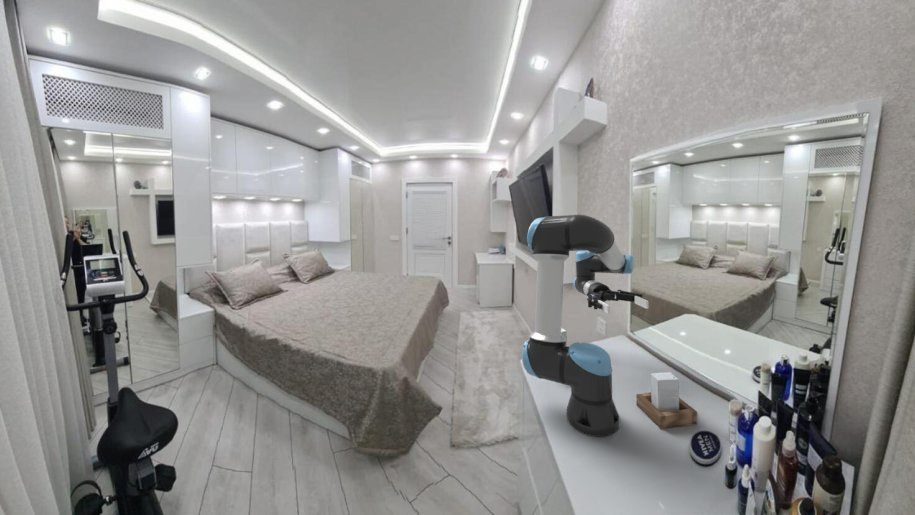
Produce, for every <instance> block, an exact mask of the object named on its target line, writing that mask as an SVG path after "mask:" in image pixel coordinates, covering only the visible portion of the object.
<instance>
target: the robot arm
mask: <svg viewBox="0 0 915 515" xmlns="http://www.w3.org/2000/svg"><path fill="white" fill-rule="evenodd" d="M526 236H527V237H526V241H527V246H528V249H529V250H530V251H532V255H533V257H534V258H535V259H536V260H537V262H536V263H537V267H536V288H535V294H536V295H535V313H534V314H535V316H534V318H535V319H534V331H533V332H532V333H531V334H530V335H529V339H527V340H526V341H524V343H523V348H522V351H521V352H522V353H521V359H522V360H521V361H522V365H523V368H524V370H525V371H526V373H527V374H528V375H530V376H532V377H536V378H537V379H539V380H540V379H542V380H547V381H550V382H555V383H558V384H561V385H566V386H569V387H570V391H571V394H570V397H569V400H568V401H567V406H566V419H567V422H568V423H569V425H570V426H572V428H574V429H575V430H577V431H578V432H580V433H583V434H584V435H588V436H593V437H607V436H611V435H613V434H615V433H616V432H617V431H619V428H620V424H621V422H620V414H619V412H618V410H617V407H616V404H615V401H614V400H613V377H612V376H613V374H612V373H613V367H612V359H611V356H610V354H609V353H608V352H607V351H606V350H605V349H604V348H603V347H601V346H599V345H597V344H594V343H590V342H587V341H586V342H584V341H582V342H578V341H577V342H573V343H572V344H570V345H569V346H568V345H567V346H566V339H565V338H564V337H563V336H562V334H561V328H562V322H563V320H562V319H563V300H564V298H563V297H564V294H563V293H564V271H565V270H564V269H565V261H566V260H567V259H568V258H569V257H570V252H574V251H575V252H576V253H575V261H574V262H575V270H576V271H575V273H576V276H575V278H574V279H573V282H572V285H573V287H574V289H575V290H576V291H577V292H579V293H580V294H582V295H584V296H586V300H587V307H588V308H592V307H593V309H594V310H598V309H599V310H601V311H603V312H605V314H611V306H610V304H608V303H606V302H607V301H608V302H609V301H614V302H618V301H622V302H630V303H631V302H632V303H634V304H635V305H638V307H639V306H640V308H641V307H642V308H643V309H646V310H649V305H650V304H649V300H647V299H644V298H643V294H642V293H637V292H632V291H626V290H622V289H617V290H616V291H615V290H611V289H610V287H609V286H608V285H606V284H603V283H602V282H600V281H597V280H596V277H595V276H596V273H599V274H600V273H602V274H620V275H624V274H625V275H626V274H627V275H628V274H629V275H630V274H632V273H633V272H634V268H635V267H634V266H635V260H634V257H633V256H632V255H630V254H629V255H628V254H623V253H622V251H621V250H620V248H619V247H618V245H617V244H616V242H615V235H614V232H613V231H612V229H611V228H610V226H608V225H607V224H606V223H604V222H602V221H601V220H600V219H597V218H595V217H592V216H589V215H585V214H570V215H552V216H551V215H549V216H548V215H546V216H544V217H538V218H535V219H533V221H532V222H531V224H530V226H529V227H528V231H527V234H526Z"/></svg>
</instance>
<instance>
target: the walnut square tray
mask: <svg viewBox="0 0 915 515" xmlns="http://www.w3.org/2000/svg"><path fill="white" fill-rule="evenodd" d="M636 406H637V408H639V409H640V410H641V411H642V413H644V414H645V415H646V417H648V418H649V419H650V420H651V421H652V422H653V423H654V424H655V425H656V426H657V427H658V428H659V429H660V430H663V429H670V428H676V427H677V428H678V427H685V426H693V425H697V424H698V411H697V410H696V409H695V408H693V407H692V406H690V404H688V403H687V402H686V401H684V400H683V399H682V398H681V397H679V410H677V411H669V412H661V411H659V410H658V409H657V408H656V407H655V406H654V405H653V404H652V401H651V391H649V392H644V393H637V394H636Z"/></svg>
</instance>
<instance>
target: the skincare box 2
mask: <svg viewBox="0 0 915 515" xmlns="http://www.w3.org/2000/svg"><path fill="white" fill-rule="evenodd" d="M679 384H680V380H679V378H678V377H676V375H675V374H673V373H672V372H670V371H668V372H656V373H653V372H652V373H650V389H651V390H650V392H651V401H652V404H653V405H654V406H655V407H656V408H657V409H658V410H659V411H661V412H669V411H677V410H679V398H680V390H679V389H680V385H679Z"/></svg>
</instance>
